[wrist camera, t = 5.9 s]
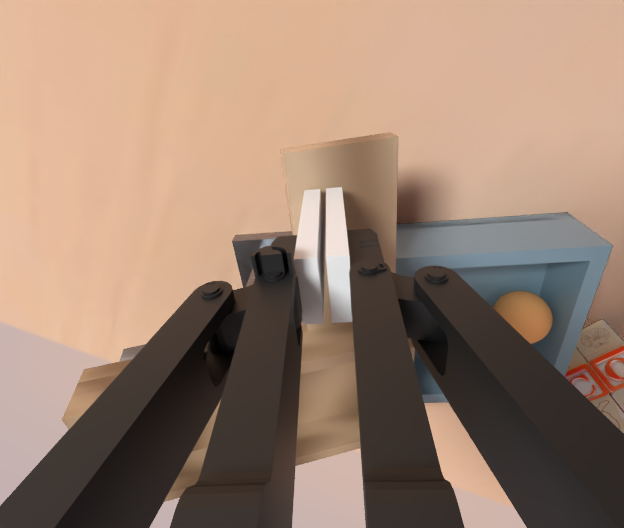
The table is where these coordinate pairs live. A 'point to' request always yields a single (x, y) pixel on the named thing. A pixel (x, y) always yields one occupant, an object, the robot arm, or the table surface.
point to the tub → (513, 270)
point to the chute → (328, 336)
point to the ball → (526, 314)
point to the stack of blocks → (600, 370)
